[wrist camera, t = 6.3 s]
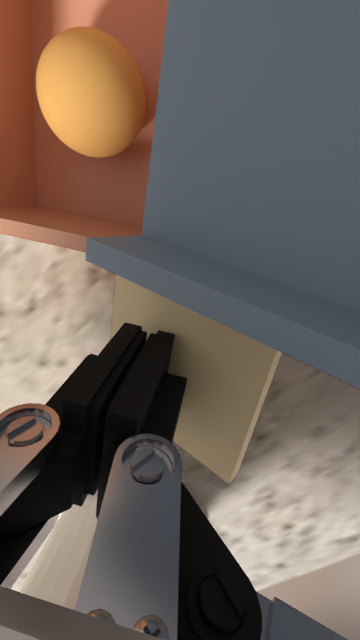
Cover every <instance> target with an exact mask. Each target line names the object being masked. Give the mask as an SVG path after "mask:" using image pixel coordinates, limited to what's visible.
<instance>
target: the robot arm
mask: <svg viewBox="0 0 360 640" xmlns="http://www.w3.org/2000/svg"><path fill="white" fill-rule="evenodd" d="M174 337H175V334H173V333H168V332H164V331H160V330H158V331H157V333H156V334H154V333H151V334H150V335H149V337H148V339H147V332H145V331H142V326H139V325H135V324H130V323H126V322H125V323H124V324H123V325H122V326H121V328H120V329H119V330H118V331H117V333H116V334H115V335H114V336H113V338H112V339H111V340H110V341H109V343H108V344H107V345H106V346H105V348H104V349H103V350H102V351H101V353H100V354H99V355H98V356H97V355H93V354H90V355H88V356H87V357H86V358H85V359H84V360H83V362H82V363H81V364H80V365H79V366H78V367H77V369H76V370H75V371H74V372H73V373H72V374H71V375H70V377H69V378H68V379H67V380H66V381H65V382H64V384H63V385H62V386H61V387H60V388H59V389H58V391H57V392H56V393H55V394H54V395H53V396H52V397H51V399H50V400H49V401H48V402H47V403H46V404H45V405H42V404H31V403H29V404H23V405H18V406H15V407H12V408H10V409H7V410H6V411H4V412H2V413H1V414H0V640H347V639H346V638H344V637H342V636H340V635H339V634H337V633H335V632H334V631H332V630H330V629H329V628H327V627H325V626H324V625H322V624H320V623H319V622H317V621H315V620H314V619H312V618H310V617H308V616H307V615H305V614H303V613H302V612H300V611H298V610H297V609H295V608H293V607H292V606H290V605H288V604H286V603H285V602H283V601H281V600H280V599H278V598H276V597H274V598H273V600H272V601H271V600H269V599H268V598H266V597H264V596H263V595H261V594H259V593H258V592H256V591H255V589H254V588H253V586H252V584H251V582H250V580H249V578H248V577H247V575H246V574H245V573H244V571H243V570H242V568H241V567H240V565H239V564H238V563H237V561H236V560H235V558H234V557H233V555H232V554H231V552H230V551H229V550H228V548H227V547H226V545H225V544H224V542H223V541H222V539H221V538H220V537H219V535H218V534H217V532H216V531H215V529H214V528H213V527H212V525H211V524H210V522H209V521H208V519H207V518H206V516H205V515H204V514H203V512H202V511H201V509H200V508H199V506H198V505H197V503H196V502H195V501H194V499H193V498H192V496H191V495H190V493H189V492H188V491H187V489H186V488H185V486H184V485H183V483H182V482H181V458H180V454H179V453H178V451H177V449H176V447H175V446H174V445H173V444H172V442H173V438H174V434H175V430H176V427H177V423H178V418H179V414H180V410H181V406H182V402H183V397H184V393H185V388H186V384H187V379H188V378H186V377H182V376H178V375H174V374H170V373H168V369H169V364H170V358H171V353H172V348H173V342H174ZM146 339H147V341H146ZM55 524H56V525H55ZM54 526H55V527H54ZM53 527H54V529H53ZM52 529H53V531H52V533H51V534H50V536H49V538H48V540H47V542H46V544H45V546H44V547H43V549H42V551H41V553H40V555H39V557H38V559H37V561H36V562H35V564H34V566H33V568H32V570H31V572H30V574H29V575H28V577H27V579H26V581H25V583H24V585H23V587H22V589H21V590H20V592H17V591H14V590H11V587H12V586H13V584H14V583H15V582H16V580H17V579H18V577H19V576H20V574H21V573H22V572H23V570H24V569H25V567H26V566H27V564H28V563H29V562H30V560H31V559H32V557H33V556H34V554H35V553H36V552H37V550H38V549H39V547H40V546H41V544H42V543H43V542H44V540H45V539H46V537H47V536H48V534H49V533H50V532H51V530H52Z"/></svg>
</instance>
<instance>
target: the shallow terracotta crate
mask: <svg viewBox="0 0 360 640" xmlns="http://www.w3.org/2000/svg"><path fill="white" fill-rule="evenodd" d="M168 1H169V0H0V234H5V235H9V236H14V237H19V238H23V239H28V240H32V241H37V242H42V243H46V244H51V245H55V246H60V247H65V248H69V249H74V250H78V251H83V252H86V241H87V238H88V237H111V236H134V235H142V228H143V219H144V211H145V202H146V193H147V184H148V176H149V167H150V158H151V149H152V141H153V132H154V123H155V115H156V106H157V97H158V88H159V80H160V71H161V62H162V53H163V45H164V36H165V27H166V18H167V10H168ZM79 26H81V27H91V28H96V29H98V30H101V31H103V32H105V33H107V34H109V35H110V36H112V37H113V38H115V39H116V40H117V41H118V42H119V43H120V44H121V45H122V46H123V47H124V48H125V49H126V50H127V51H128V53H129V54H130V55H131V57H132V58H133V60H134V62H135V63H136V65H137V67H138V69H139V72H140V75H141V77H142V81H143V85H144V90H145V99H146V108H145V116H144V120H143V124H142V127H141V129H140V131H139V133H138V135H137V137H136V138H135V140H134V141H133V142H132V143H131V144H130V145H129V146H128V147H127V148H126V149H125V150H123V151H122V152H120V153H118V154H116V155H113V156H109V157H100V158H97V157H90V156H86V155H83V154H81V153H78V152H76V151H75V150H73V149H71V148H70V147H68V146H67V145H66V144H64V143H63V142H62V141H61V140H60V139H59V138H58V137H57V136H56V134H55V133H54V132H53V131H52V129H51V128H50V126H49V125H48V123H47V121H46V120H45V118H44V115H43V113H42V111H41V108H40V105H39V101H38V97H37V90H36V71H37V66H38V62H39V59H40V56H41V54H42V52H43V50H44V48H45V47H46V45H47V44H48V43H49V41H50V40H51V39H52V38H53V37H54V36H56V35H57V34H58V33H60V32H62V31H64V30H66V29H69V28H72V27H79Z"/></svg>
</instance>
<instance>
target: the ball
mask: <svg viewBox="0 0 360 640" xmlns="http://www.w3.org/2000/svg"><path fill="white" fill-rule="evenodd" d="M36 90H37V97H38V101H39V105H40V108H41V111H42V113H43V115H44V118H45V120H46V121H47V123H48V125H49V126H50V128H51V129H52V131H53V132H54V133H55V134H56V136H57V137H58V138H59V139H60V140H61V141H62V142H63V143H64V144H66V145H67V146H68V147H70V148H71V149H73V150H75V151H76V152H78V153H81V154H83V155H86V156H90V157H97V158H100V157H109V156H113V155H116V154H118V153H120V152H122V151H123V150H125V149H126V148H127V147H128V146H129V145H130V144H131V143H132V142H133V141H134V140H135V138H136V137H137V135H138V133H139V131H140V129H141V127H142V124H143V120H144V116H145V108H146V99H145V90H144V85H143V81H142V77H141V75H140V72H139V69H138V67H137V65H136V63H135V62H134V60H133V58H132V57H131V55H130V54H129V53H128V51H127V50H126V49H125V48H124V47H123V46H122V45H121V44H120V43H119V42H118V41H117V40H116V39H115V38H113V37H112V36H110V35H109V34H107V33H105V32H103V31H101V30H98V29H96V28H91V27H81V26H79V27H72V28H69V29H66V30H64V31H62V32H60V33H58V34H57V35H56V36H54V37H53V38H52V39H51V40H50V41H49V43H48V44H47V45H46V47H45V48H44V50H43V52H42V54H41V56H40V59H39V62H38V66H37V71H36Z"/></svg>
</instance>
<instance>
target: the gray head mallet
mask: <svg viewBox="0 0 360 640" xmlns="http://www.w3.org/2000/svg"><path fill="white" fill-rule="evenodd" d="M86 260H87V261H89V262H91V263H93V264H95V265H97V266H99V267H101V268H103V269H106V270H108V271H110V272H112V273H114V274H116V281H115V293H114V305H113V317H112V329H111V339H112V338H113V336H114V335H115V334H116V333H117V331H118V330H119V329H120V328H121V326H122V325H123V324H124V323H125V322H126V323H130V324H135V325H139V326H142V331H145V332H147V339H148V337H149V335H150V334H151V333H154V334H156V333H157V331H158V330H160V331H164V332H168V333H173V334H175V337H174V342H173V348H172V353H171V358H170V364H169V369H168V373H170V374H174V375H178V376H182V377H186V378H188V379H187V384H186V388H185V393H184V397H183V402H182V406H181V410H180V414H179V418H178V423H177V427H176V430H175V434H174V438H173V441H174V442H175V443H176V444H178V445H179V446H180V447H182V448H183V449H184V450H185V451H187V452H188V453H189V454H191V455H192V456H193V457H194V458H196V459H197V460H198V461H199V462H201V463H202V464H203V465H205V466H206V467H207V468H208V469H210V470H211V471H212V472H214V473H215V474H216V475H217V476H219V477H220V478H221V479H223V480H224V481H225V482H226V483H228V484H230V482H231V481H232V480H233V479H234V477H235V476H236V475H237V473H238V471H239V469H240V466H241V463H242V460H243V458H244V455H245V452H246V450H247V447H248V444H249V441H250V439H251V436H252V433H253V431H254V428H255V425H256V422H257V420H258V417H259V414H260V412H261V409H262V406H263V403H264V401H265V398H266V395H267V393H268V390H269V387H270V384H271V382H272V379H273V376H274V374H275V371H276V368H277V366H278V363H279V360H280V357H281V355H282V353H284V354H286V355H288V356H290V357H292V358H294V359H296V360H299V361H301V362H303V363H305V364H307V365H309V366H311V367H313V368H316V369H318V370H320V371H322V372H324V373H326V374H328V375H330V376H332V377H335V378H337V379H339V380H341V381H343V382H345V383H347V384H349V385H352V386H354V387H356V388H358V389H360V0H169V1H168V10H167V18H166V27H165V36H164V45H163V53H162V62H161V71H160V80H159V88H158V97H157V106H156V115H155V123H154V132H153V141H152V149H151V158H150V167H149V176H148V184H147V193H146V202H145V211H144V219H143V228H142V235H134V236H111V237H88V238H87V241H86ZM147 339H146V341H147Z"/></svg>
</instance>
